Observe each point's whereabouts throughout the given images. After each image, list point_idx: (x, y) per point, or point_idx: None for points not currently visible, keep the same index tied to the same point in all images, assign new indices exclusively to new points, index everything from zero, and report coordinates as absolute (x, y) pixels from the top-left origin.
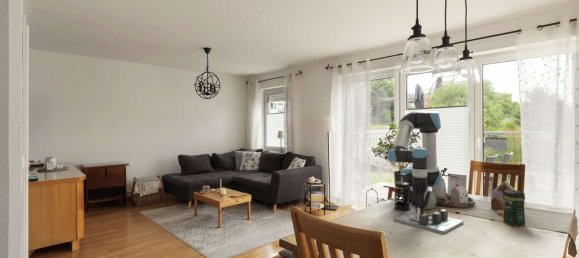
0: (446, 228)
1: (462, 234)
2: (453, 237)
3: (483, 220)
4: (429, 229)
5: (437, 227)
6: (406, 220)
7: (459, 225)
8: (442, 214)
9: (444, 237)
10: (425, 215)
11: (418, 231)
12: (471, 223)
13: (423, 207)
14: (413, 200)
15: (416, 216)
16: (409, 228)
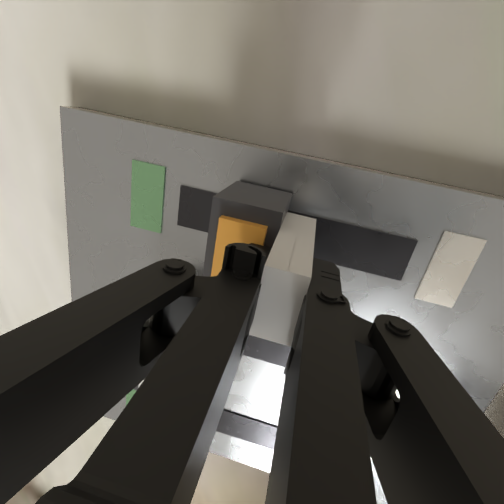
0: (76, 192)
1: (4, 190)
2: (5, 75)
3: (51, 471)
4: (189, 131)
5: (131, 173)
6: (434, 211)
7: None
8: None
9: (42, 19)
10: (217, 244)
11: (259, 15)
12: None
13: (192, 265)
14: (414, 400)
15: None
16: (363, 48)
